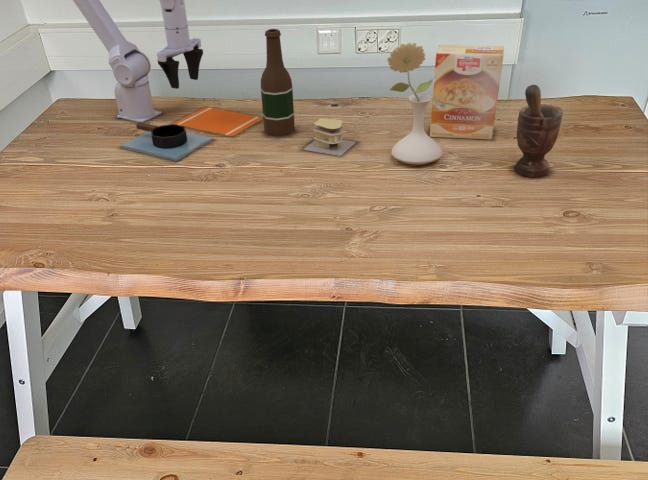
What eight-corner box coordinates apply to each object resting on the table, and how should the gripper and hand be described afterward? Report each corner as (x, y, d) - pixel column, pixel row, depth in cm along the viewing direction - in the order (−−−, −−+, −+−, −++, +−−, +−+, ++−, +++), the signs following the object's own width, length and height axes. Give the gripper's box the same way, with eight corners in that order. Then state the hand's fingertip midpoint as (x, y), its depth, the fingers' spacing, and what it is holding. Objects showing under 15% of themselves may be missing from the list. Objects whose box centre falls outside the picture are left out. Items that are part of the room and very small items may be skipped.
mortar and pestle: (549, 187, 142) (568, 89, 130) (507, 183, 145) (521, 86, 132) (552, 164, 151) (570, 70, 138) (512, 161, 153) (526, 68, 140)
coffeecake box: (429, 137, 166) (435, 52, 153) (431, 126, 171) (438, 43, 159) (492, 140, 163) (503, 54, 150) (493, 129, 168) (504, 45, 156)
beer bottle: (296, 126, 175) (291, 25, 160) (293, 138, 170) (287, 34, 154) (266, 126, 176) (258, 26, 161) (262, 138, 170) (253, 35, 155)
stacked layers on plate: (302, 149, 163) (301, 127, 160) (319, 136, 170) (318, 114, 166) (340, 156, 160) (340, 133, 156) (356, 142, 166) (356, 119, 162)
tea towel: (172, 124, 181) (172, 123, 180) (205, 107, 190) (205, 106, 189) (232, 137, 172) (232, 136, 172) (264, 119, 181) (264, 117, 180)
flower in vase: (444, 150, 159) (454, 35, 143) (438, 171, 151) (448, 51, 135) (388, 147, 162) (392, 34, 146) (380, 167, 154) (382, 49, 138)
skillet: (194, 139, 170) (192, 126, 168) (171, 151, 165) (169, 138, 163) (151, 129, 176) (149, 117, 174) (129, 141, 171) (126, 129, 169)
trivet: (121, 148, 170) (120, 145, 169) (159, 129, 179) (158, 126, 178) (176, 161, 162) (175, 158, 161) (213, 140, 171) (212, 137, 170)
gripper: (168, 35, 162) (178, 94, 171) (207, 21, 171) (214, 77, 180) (146, 32, 165) (157, 90, 174) (185, 18, 174) (193, 73, 183)
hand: (184, 83), depth 177 cm, fingers open, 7 cm apart
